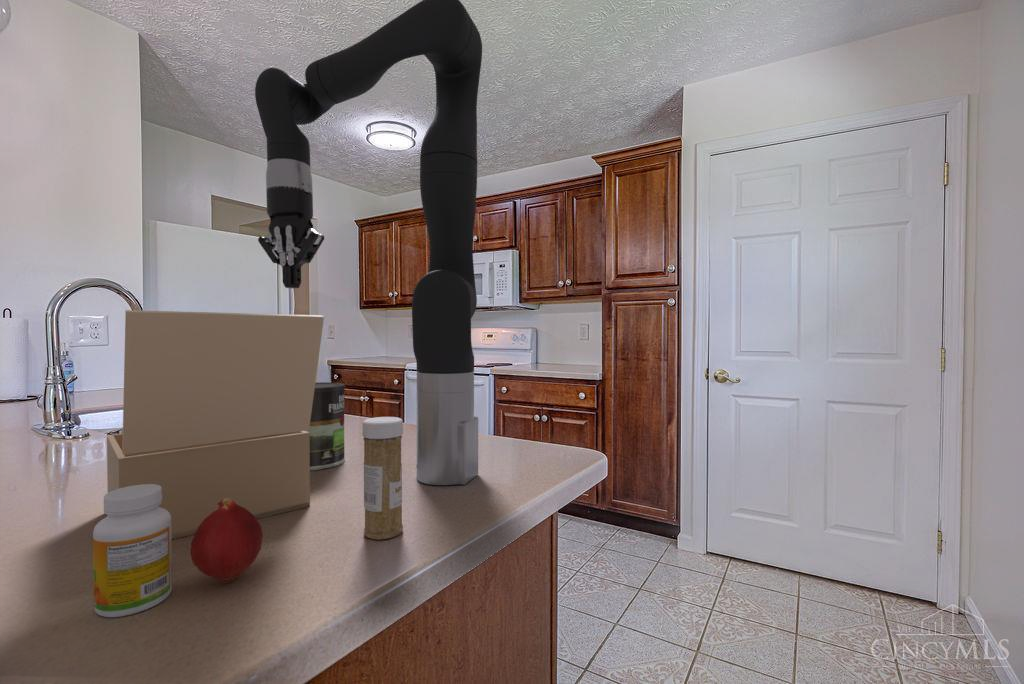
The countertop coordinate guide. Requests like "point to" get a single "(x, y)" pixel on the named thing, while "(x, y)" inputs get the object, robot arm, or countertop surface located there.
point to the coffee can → (327, 426)
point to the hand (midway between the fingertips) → (292, 287)
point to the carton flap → (216, 377)
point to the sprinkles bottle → (382, 477)
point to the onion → (226, 542)
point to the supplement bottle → (132, 552)
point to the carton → (219, 476)
